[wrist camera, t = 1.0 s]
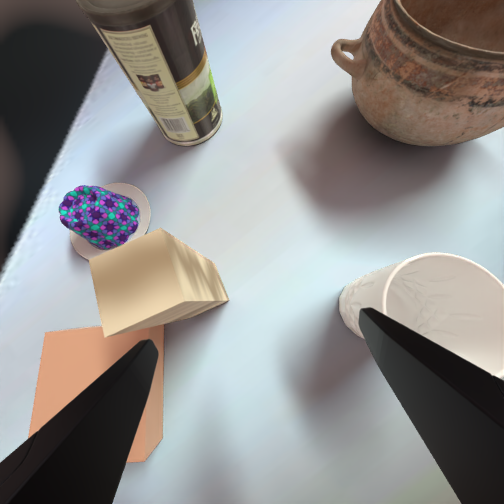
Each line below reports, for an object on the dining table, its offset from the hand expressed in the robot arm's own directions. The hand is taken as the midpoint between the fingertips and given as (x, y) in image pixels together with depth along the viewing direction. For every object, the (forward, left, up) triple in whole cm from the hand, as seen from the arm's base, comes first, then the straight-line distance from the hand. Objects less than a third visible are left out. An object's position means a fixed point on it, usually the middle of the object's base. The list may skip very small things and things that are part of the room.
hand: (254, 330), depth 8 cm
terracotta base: (-6, +18, -15) cm, 24 cm away
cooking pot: (+24, -23, -15) cm, 36 cm away
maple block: (+3, +7, -15) cm, 17 cm away
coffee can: (+30, +8, -15) cm, 35 cm away
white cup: (-1, -12, -15) cm, 19 cm away
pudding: (+14, +20, -15) cm, 29 cm away
